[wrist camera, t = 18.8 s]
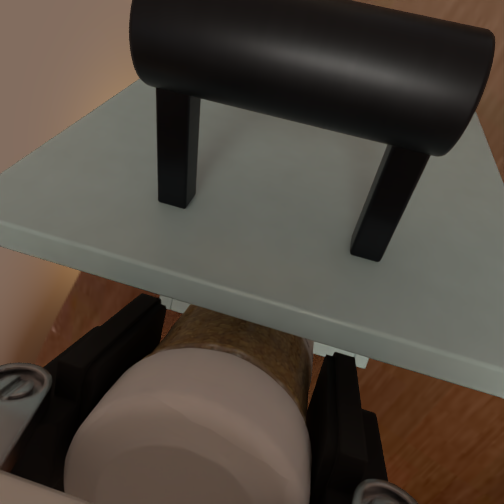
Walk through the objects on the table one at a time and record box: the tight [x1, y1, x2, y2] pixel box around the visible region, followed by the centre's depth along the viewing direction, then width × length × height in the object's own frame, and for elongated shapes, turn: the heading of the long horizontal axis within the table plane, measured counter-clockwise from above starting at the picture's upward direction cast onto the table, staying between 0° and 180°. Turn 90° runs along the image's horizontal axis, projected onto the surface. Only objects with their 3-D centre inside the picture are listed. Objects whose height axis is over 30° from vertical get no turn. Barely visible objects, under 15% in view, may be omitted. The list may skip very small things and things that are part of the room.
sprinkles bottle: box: [64, 304, 314, 504], centre depth 13 cm, size 5×5×13 cm
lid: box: [0, 0, 504, 398], centre depth 12 cm, size 15×13×5 cm
